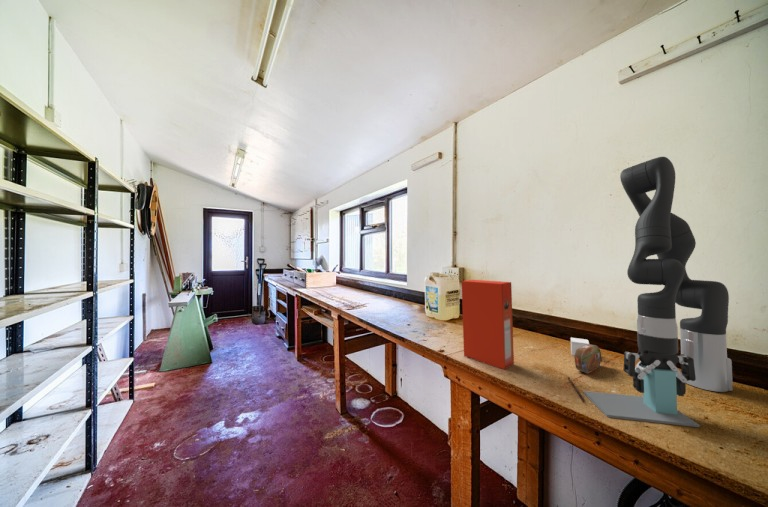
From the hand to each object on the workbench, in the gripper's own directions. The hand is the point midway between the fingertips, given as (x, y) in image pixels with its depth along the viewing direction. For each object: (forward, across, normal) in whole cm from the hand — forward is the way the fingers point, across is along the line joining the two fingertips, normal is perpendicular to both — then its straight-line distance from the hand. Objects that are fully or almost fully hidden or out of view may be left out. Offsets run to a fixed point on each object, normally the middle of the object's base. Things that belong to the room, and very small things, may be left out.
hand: (658, 393), depth 69 cm
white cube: (+5, +1, -40) cm, 40 cm away
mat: (+5, +6, 0) cm, 7 cm away
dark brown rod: (+5, +16, -8) cm, 19 cm away
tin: (+5, +5, -25) cm, 26 cm away
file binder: (+5, +40, -27) cm, 48 cm away
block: (+4, 0, 0) cm, 4 cm away
